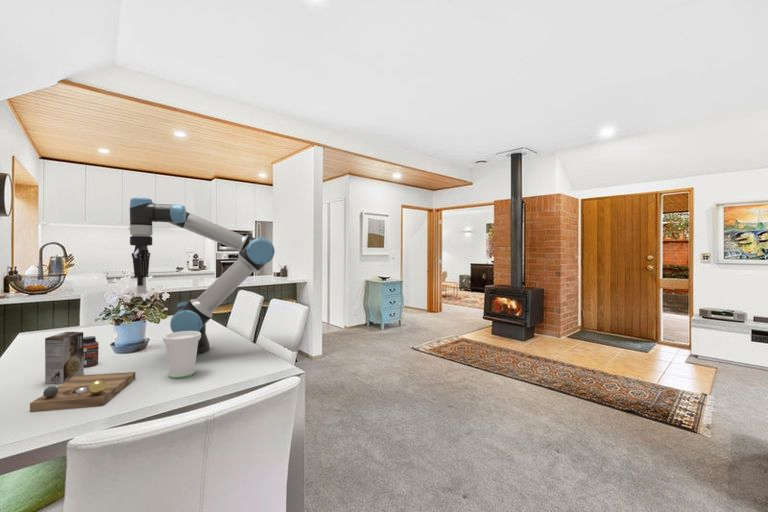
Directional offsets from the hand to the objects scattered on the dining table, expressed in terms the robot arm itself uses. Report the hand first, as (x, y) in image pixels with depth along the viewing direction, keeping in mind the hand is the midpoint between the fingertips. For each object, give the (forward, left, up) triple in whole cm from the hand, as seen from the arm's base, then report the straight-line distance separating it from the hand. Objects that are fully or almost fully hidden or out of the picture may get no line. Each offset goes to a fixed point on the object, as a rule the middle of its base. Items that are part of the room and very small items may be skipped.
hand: (141, 293), depth 140 cm
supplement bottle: (+19, -2, -29) cm, 35 cm away
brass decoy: (-2, +37, -25) cm, 44 cm away
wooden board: (+4, +29, -29) cm, 41 cm away
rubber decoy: (+10, +36, -25) cm, 45 cm away
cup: (-20, +17, -29) cm, 39 cm away
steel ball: (+4, +32, -28) cm, 43 cm away
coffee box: (+19, +13, -29) cm, 37 cm away
